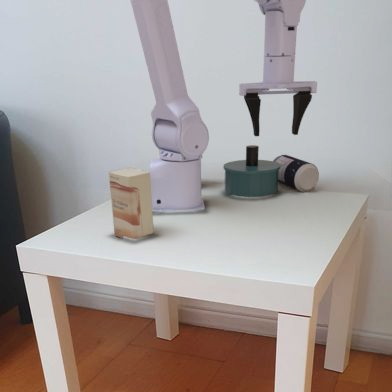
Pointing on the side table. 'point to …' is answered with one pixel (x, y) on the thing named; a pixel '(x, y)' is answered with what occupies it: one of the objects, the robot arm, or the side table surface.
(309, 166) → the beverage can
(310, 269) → the side table surface
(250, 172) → the cover
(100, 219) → the side table surface
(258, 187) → the tin
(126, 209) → the printed cardboard carton
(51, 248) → the side table surface
